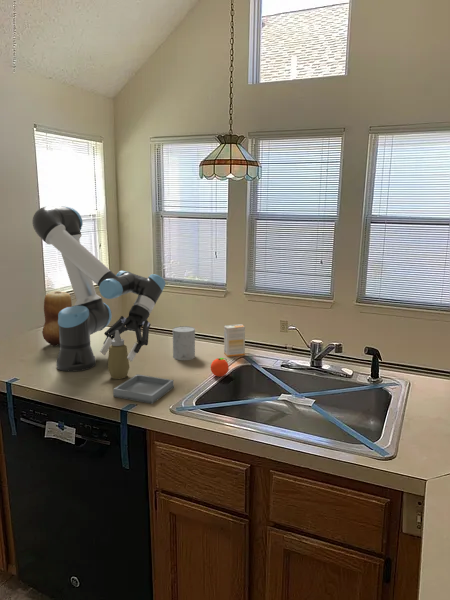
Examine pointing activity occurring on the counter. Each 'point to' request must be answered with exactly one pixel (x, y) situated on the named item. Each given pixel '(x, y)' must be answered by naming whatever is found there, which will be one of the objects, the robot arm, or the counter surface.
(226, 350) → the supplement box
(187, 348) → the grey cylinder
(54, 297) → the butternut squash
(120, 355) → the squeeze bottle
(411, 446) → the counter surface
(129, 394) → the tray
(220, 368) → the clementine
